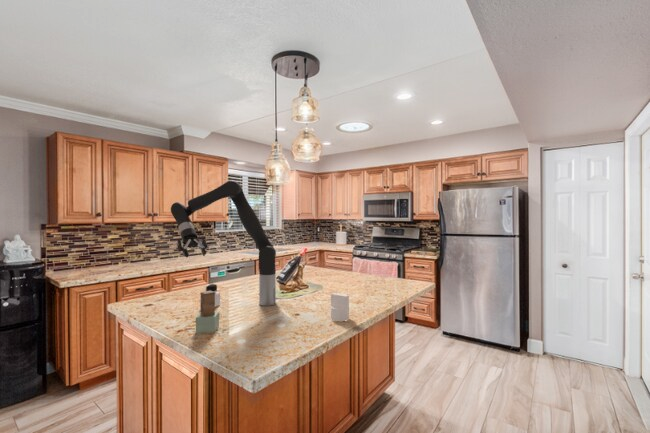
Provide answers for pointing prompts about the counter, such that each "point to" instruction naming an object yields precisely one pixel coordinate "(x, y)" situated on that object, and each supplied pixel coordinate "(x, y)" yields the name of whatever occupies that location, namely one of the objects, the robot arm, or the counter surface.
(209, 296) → the walnut block
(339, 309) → the light grey block
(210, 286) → the medicine bottle
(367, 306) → the counter surface
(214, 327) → the sage slab lower
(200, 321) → the sage slab upper
